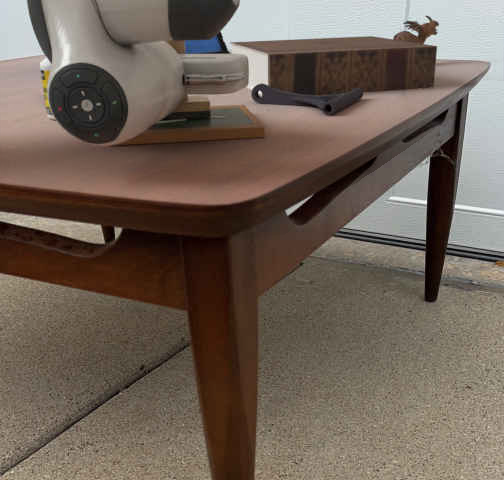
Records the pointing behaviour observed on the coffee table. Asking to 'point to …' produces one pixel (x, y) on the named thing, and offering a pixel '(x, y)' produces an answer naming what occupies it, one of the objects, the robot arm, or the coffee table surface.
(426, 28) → the dragon figurine
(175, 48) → the wooden stamp
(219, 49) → the game console
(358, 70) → the book
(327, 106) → the bracket
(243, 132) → the board
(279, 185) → the coffee table surface
